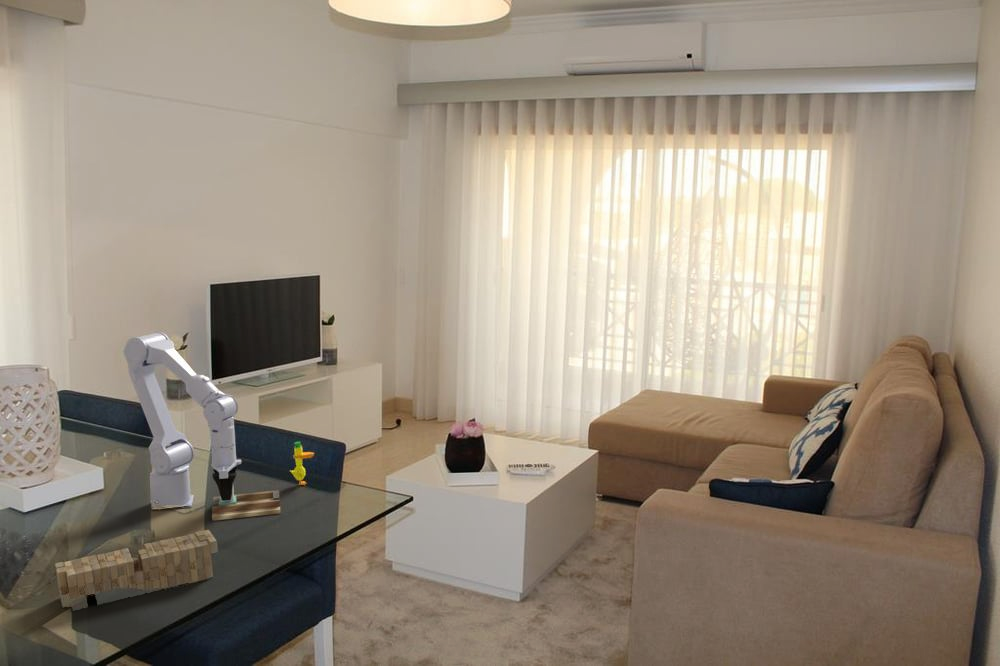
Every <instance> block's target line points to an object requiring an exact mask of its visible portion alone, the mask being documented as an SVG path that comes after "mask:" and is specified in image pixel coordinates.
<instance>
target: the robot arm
mask: <svg viewBox="0 0 1000 666" xmlns="http://www.w3.org/2000/svg"><path fill="white" fill-rule="evenodd" d="M122 352H123V354H124V355H123V356H124V357H125V359H126V360H125V361H126V362H127V365H128V367H127V369H128V374H129V377H130V380H131V382H132V384H133V388H134V390H135V394H136V396H137V398H138V401H139V404H140V405H141V408H142V411H143V414H144V416H145V418H146V421H147V423H148V427H149V429H150V432H151V435H152V437H153V438H152V441H151V443H150V445H149V446H148V450H149V455H150V464H151V467H152V469H153V470H154V471H153V472H150V473H149V474H150V475H149V490H150V504H151V507H152V506H166V505H182V506H191V507H192V505H193V501H194V494H192V493H191V483H190V482H191V481H190V469H189V468H190V467H191V462H192V461H193V460H194V458H195V449H194V447H193V445H192V443H190V442H189V441H188V439H187V436H186V435H185V434H184V433H183V432H181V431H178V430H177V429H176V427H175V424H174V421H173V420H172V417H171V414H170V411H169V410H168V405H167V404H166V402H165V397H164V395H163V392H162V391H161V388H160V386H159V383H158V380H157V377H156V376H155V375H156V374H155V371H156V369H157V367H158V365H162V366H164V367H165V368H166V369H168V370H169V371H170V372H171V373H172V374H173V375H175V376H176V377H177V378H178V379H179V380H180V381H182V382H183V383H184V384H185V392H186V393H187V394H188V395H189V396H190V397H191V398H192V399H193V400H194V402H196V403H197V404H198V405H199V406H200V407H201V408H202V409H203V411H202V414H203V416H204V419H205V420H206V421H207V427H208V428H209V434H210V435H209V436H210V448H211V450H210V451H211V463H210V464H211V468H213V469H212V470H213V473H212V479H213V481H214V482H215V484H216V486H217V488H218V492H219V496H221V499H222V501H225V500H231V496H232V487H233V488H234V482H235V479H236V477H237V469H238V465H241V464H242V459H239V458H238V459H237V451H236V450H237V449H236V433H235V432H236V431H235V420H234V418H235V416H236V415H237V414H238V411H239V406H238V402H237V400H236V399H235V397H234V396H233V395H231V394H228V393H224V392H222V391H221V390H220V389H218V388H217V387H216V386H215V384H214V383H212V382H211V379H210V378H209V377H208V376H205V375H204V374H197V373H196V372H195V371H194V370H193V369H192V368H191V366H190V365H189V364H188V363H187V361H186V360H184V358H183V357H182V356H181V355H180V354H179V353H178V351H177V349H175V345H174V341H173V340H171V339H170V338H169V336H168V335H167V334H166V333H164V332H163V331H162V332H161V331H156V332H154V333H151V334H145V335H142V336H141V335H140V336H134V337H130V338H129V339H128V340H127V341H126V343H125V346H124V348H123V350H122ZM155 501H158V503H156V502H155Z"/></svg>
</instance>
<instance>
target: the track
mask: <svg viewBox="0 0 1000 666" xmlns="http://www.w3.org/2000/svg"><path fill="white" fill-rule="evenodd" d="M235 495H236V500H237V503H236V504H232V505H222V506H219V497H221V496H220V495H219V496H218V495H217V496H213V497H212V505H211V506H212V507H211V510H212V512H211V513H212V515H211V519H212V521H221V520H230V519H231V520H232V519H240V518H249V517H250V518H251V517H258V516H267V515H277V514H281V500H280V490H269V491H260V492H259V491H258V492H251V493H250V492H249V493H239V494H235Z"/></svg>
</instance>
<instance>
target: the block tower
mask: <svg viewBox="0 0 1000 666" xmlns="http://www.w3.org/2000/svg"><path fill="white" fill-rule="evenodd" d="M217 542H218V541H217V540H216V538H215V537H214V535H213V534H212V533H211V531H210V530H209V529H205V530H198V531H196V532H194V533H189V534H188V535H182V536H177V537H172V538H166V539H161V540H158V541H155V542H153V541H152V542H147V543H144V544H143V549H139V550H137V556H138V558H137V557H134V558H133V557H132V555H131V553H130V550H129V548H128V547H125V548H121V549H119V550H113V551H110V552H106V553H99V554H97V555H96V554H93V555H88V556H84V557H81V558H78V557H77V558H75V559H72V560H67V561H59V562H56V563H54V567H55V568H54V569H55V575H56V576H55V577H56V582H57V589H58V588H59V590H58V593H59V592H60V595H66V594H68V593H69V596H70V599H73V598H77V597H79V596H84V595H90V594H98V593H100V592H103V591H106V590H111V589H115V588H119V589H120V588H121V589H126V588H134V589H135V588H137V589H143V590H145V589H146V590H147V589H150V590H152V589H155V588H164V587H168V586H174V585H178V584H184V583H189V584H192V583H193V584H194V583H196V582H199V581H204V580H209V579H212V578H211V577H214V575H213V565H212V556H211V555H212V554H215V553H218V543H217Z"/></svg>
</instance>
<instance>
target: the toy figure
mask: <svg viewBox="0 0 1000 666" xmlns="http://www.w3.org/2000/svg"><path fill="white" fill-rule="evenodd" d="M293 448H294V454H293V459H294V460H295V465H296V466H295V467H294V470H289V472H290V473H291V474H292V475H293V477H294V478H295V480H296V481H299V482H298V483H299V484H298V486H299V485H304V486H306V485H307V482H306V481H304V480H303V479H304V478H305V476H306V468H305V467H304V466H303V459H311V458H313V457H314V456H315V452H311V451H307V452H306V451H305V452H303V445H302V444H301V441H296V442H294V446H293ZM302 480H303V481H302ZM305 484H306V485H305Z"/></svg>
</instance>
